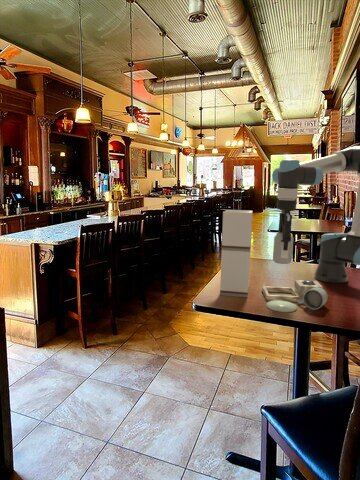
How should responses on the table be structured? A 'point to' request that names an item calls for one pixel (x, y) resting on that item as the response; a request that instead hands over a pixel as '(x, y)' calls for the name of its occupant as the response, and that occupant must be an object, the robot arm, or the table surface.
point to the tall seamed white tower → (236, 253)
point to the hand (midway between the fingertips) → (282, 256)
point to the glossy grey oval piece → (308, 282)
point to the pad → (281, 306)
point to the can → (277, 250)
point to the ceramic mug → (314, 298)
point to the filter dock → (289, 291)
